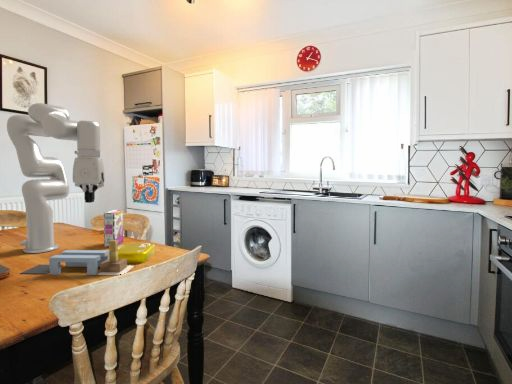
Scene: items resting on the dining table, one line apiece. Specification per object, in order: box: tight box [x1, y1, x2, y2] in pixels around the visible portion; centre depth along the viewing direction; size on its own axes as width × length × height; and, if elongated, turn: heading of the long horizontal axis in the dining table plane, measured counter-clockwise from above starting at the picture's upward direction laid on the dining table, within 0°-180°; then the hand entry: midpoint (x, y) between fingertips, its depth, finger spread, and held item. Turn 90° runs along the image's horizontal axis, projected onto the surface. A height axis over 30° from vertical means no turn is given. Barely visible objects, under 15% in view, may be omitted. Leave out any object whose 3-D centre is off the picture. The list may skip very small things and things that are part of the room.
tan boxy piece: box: [99, 240, 128, 273], centre depth 104 cm, size 7×6×11 cm
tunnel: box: [48, 249, 109, 276], centre depth 104 cm, size 16×9×6 cm, turn 90°
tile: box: [97, 264, 135, 276], centre depth 104 cm, size 9×9×1 cm
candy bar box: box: [103, 209, 124, 248], centre depth 139 cm, size 11×5×16 cm, turn 5°
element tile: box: [118, 243, 156, 264], centre depth 120 cm, size 15×15×5 cm
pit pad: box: [19, 263, 64, 275], centre depth 104 cm, size 9×9×1 cm
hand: (89, 202), depth 110 cm, fingers closed
